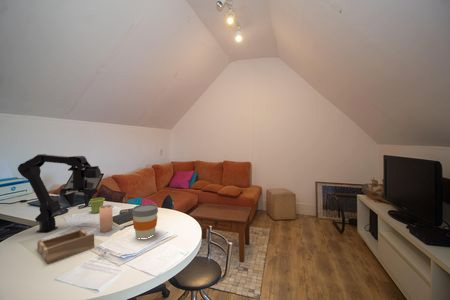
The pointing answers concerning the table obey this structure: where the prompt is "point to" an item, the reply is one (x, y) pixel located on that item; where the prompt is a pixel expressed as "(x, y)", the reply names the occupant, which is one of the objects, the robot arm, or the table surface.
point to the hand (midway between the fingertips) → (79, 205)
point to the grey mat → (107, 234)
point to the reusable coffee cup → (145, 220)
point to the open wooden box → (65, 245)
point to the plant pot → (96, 204)
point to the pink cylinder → (106, 218)
